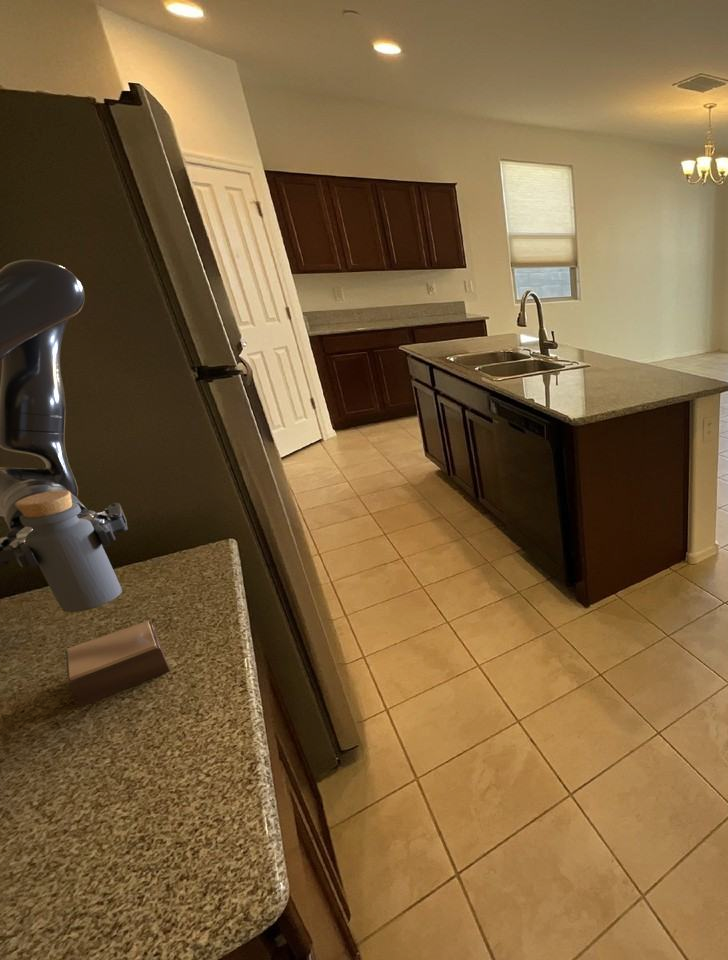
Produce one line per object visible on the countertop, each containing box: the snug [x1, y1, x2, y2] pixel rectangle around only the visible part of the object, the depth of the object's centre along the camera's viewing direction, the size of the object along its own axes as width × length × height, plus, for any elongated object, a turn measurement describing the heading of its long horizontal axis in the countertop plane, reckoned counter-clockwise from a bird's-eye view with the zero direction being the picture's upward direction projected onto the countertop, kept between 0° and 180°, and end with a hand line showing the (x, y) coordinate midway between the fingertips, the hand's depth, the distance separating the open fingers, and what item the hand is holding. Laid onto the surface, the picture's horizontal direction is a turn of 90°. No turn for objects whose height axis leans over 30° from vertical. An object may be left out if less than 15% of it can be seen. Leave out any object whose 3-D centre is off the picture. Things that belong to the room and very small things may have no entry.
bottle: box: [15, 490, 123, 613], centre depth 67 cm, size 6×6×15 cm
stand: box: [65, 620, 171, 708], centre depth 72 cm, size 9×9×4 cm
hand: (69, 549), depth 65 cm, fingers closed on bottle, 6 cm apart
